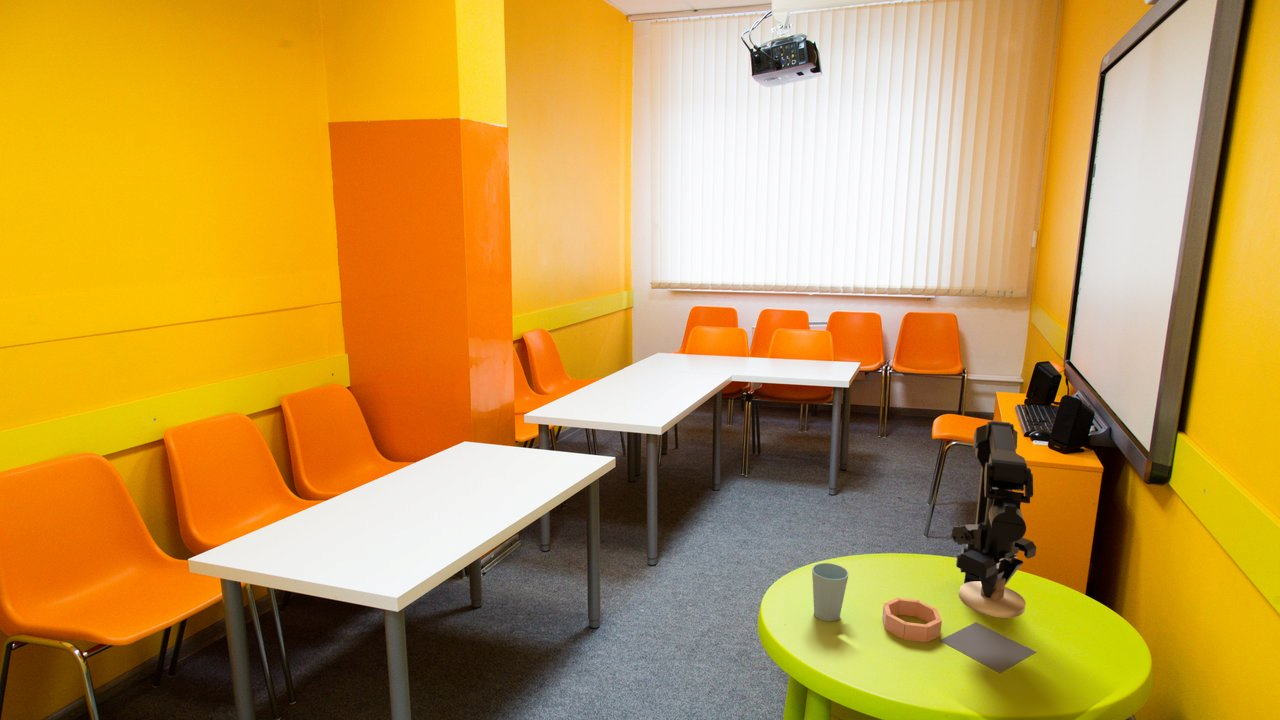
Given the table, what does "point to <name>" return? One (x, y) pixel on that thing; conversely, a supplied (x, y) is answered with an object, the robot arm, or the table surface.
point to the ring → (911, 629)
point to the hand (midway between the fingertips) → (992, 594)
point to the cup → (828, 590)
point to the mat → (988, 647)
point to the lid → (992, 600)
